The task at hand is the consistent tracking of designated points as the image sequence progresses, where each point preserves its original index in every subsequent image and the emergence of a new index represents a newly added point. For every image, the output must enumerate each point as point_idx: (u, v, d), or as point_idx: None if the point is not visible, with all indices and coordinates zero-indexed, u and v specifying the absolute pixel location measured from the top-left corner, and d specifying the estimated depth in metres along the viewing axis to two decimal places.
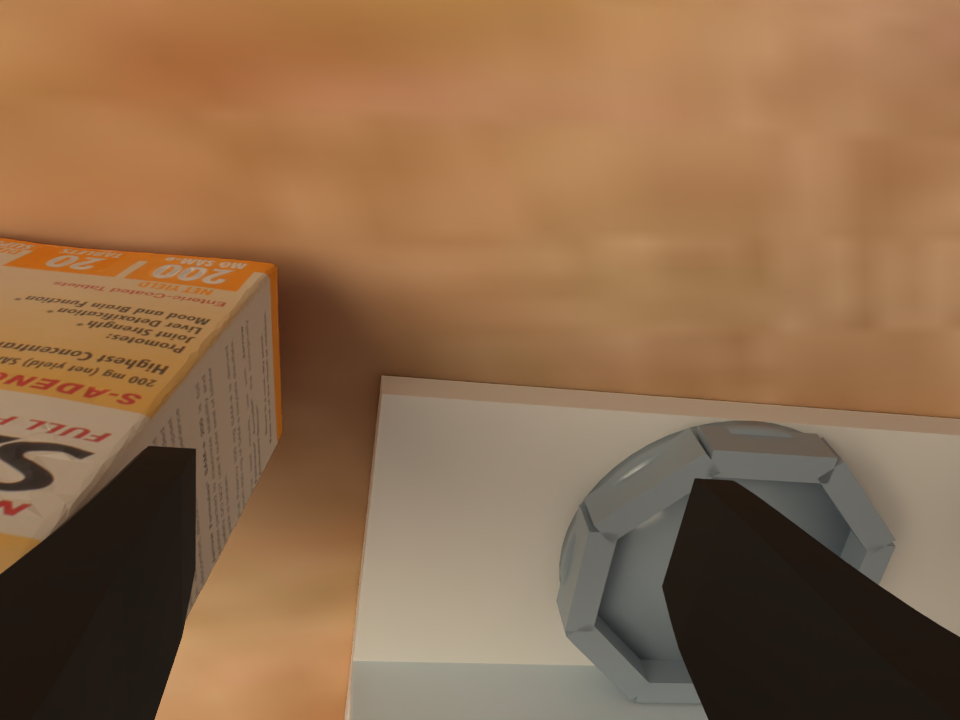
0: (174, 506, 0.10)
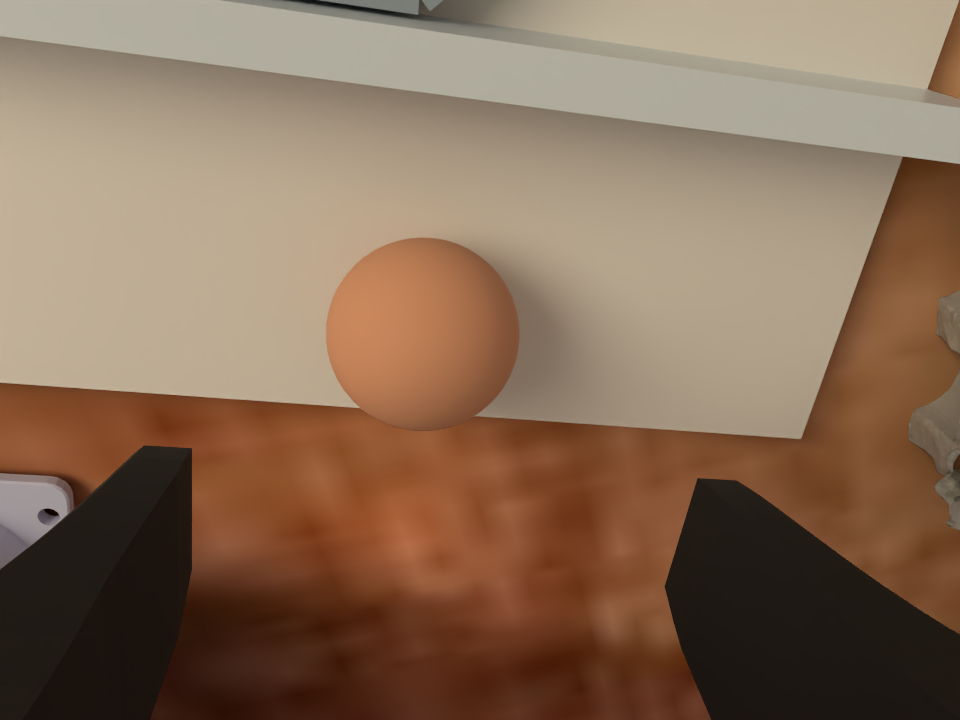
0: (169, 506, 0.10)
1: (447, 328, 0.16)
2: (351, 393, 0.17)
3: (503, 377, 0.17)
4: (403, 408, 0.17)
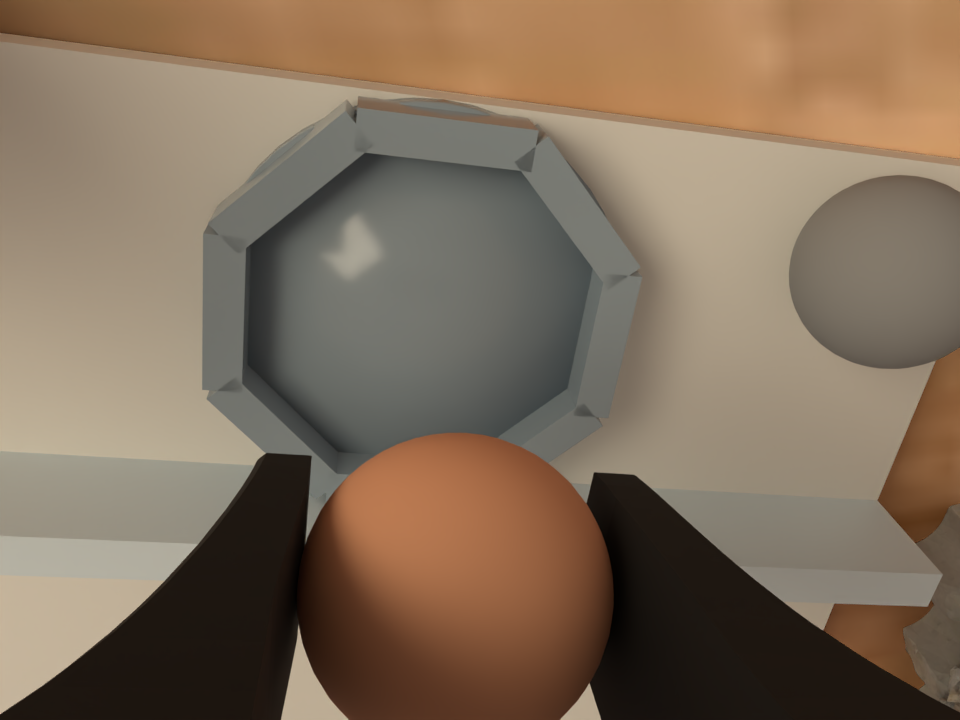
0: (303, 512, 0.10)
1: (500, 632, 0.09)
2: None
3: (591, 678, 0.10)
4: None
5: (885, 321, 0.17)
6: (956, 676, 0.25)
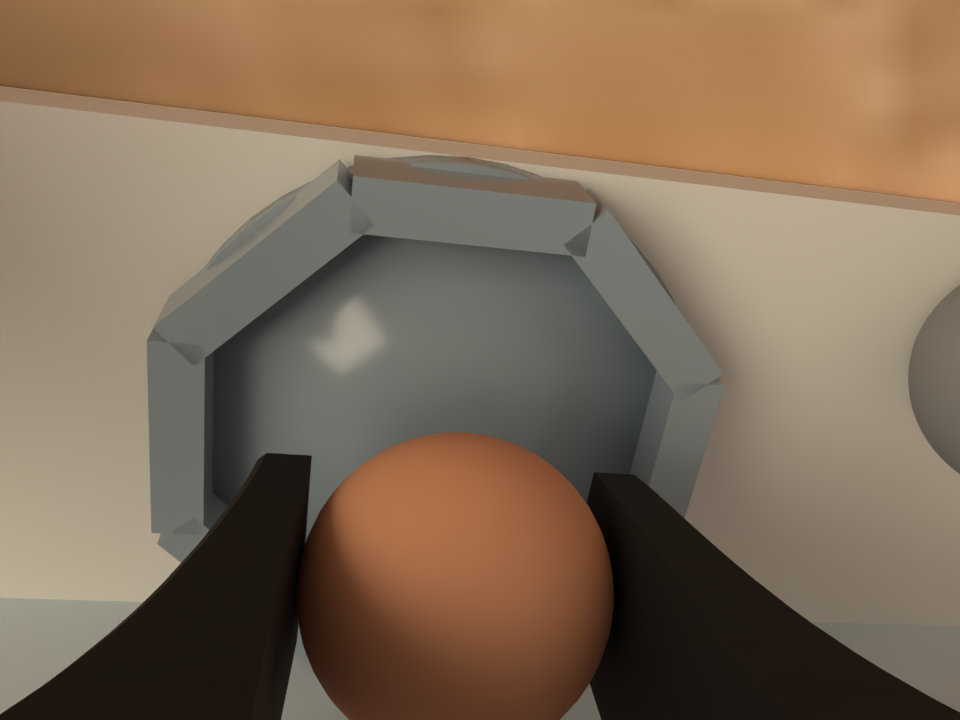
0: (303, 512, 0.10)
1: (500, 632, 0.09)
2: (337, 707, 0.10)
3: (591, 678, 0.10)
4: None
5: None
6: None
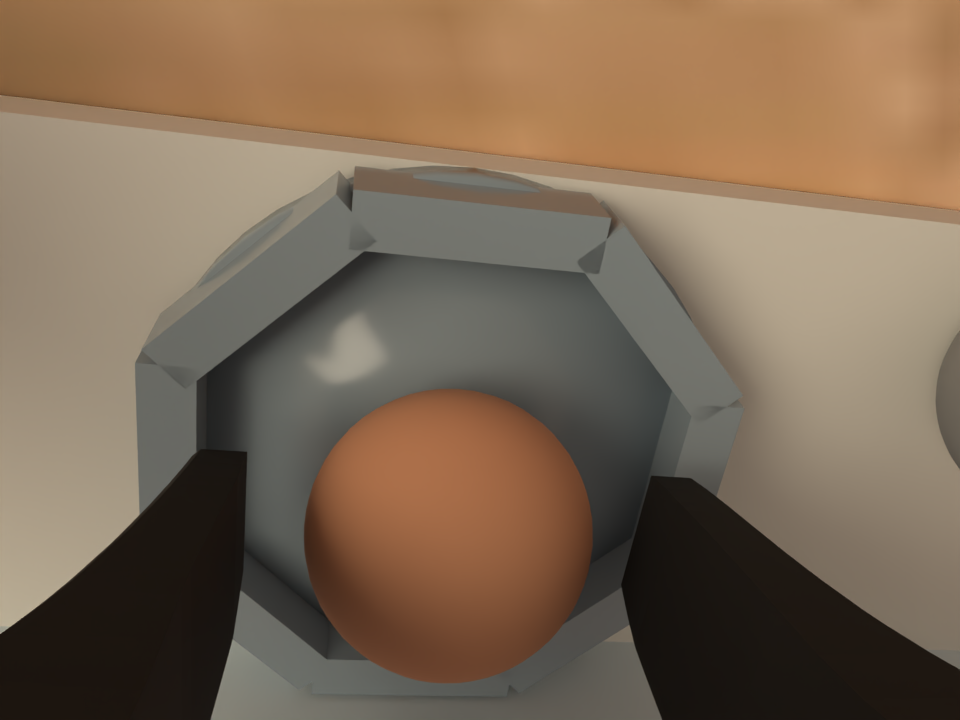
0: (231, 509, 0.10)
1: (489, 558, 0.10)
2: (341, 635, 0.11)
3: (571, 607, 0.11)
4: (420, 670, 0.11)
5: None
6: None
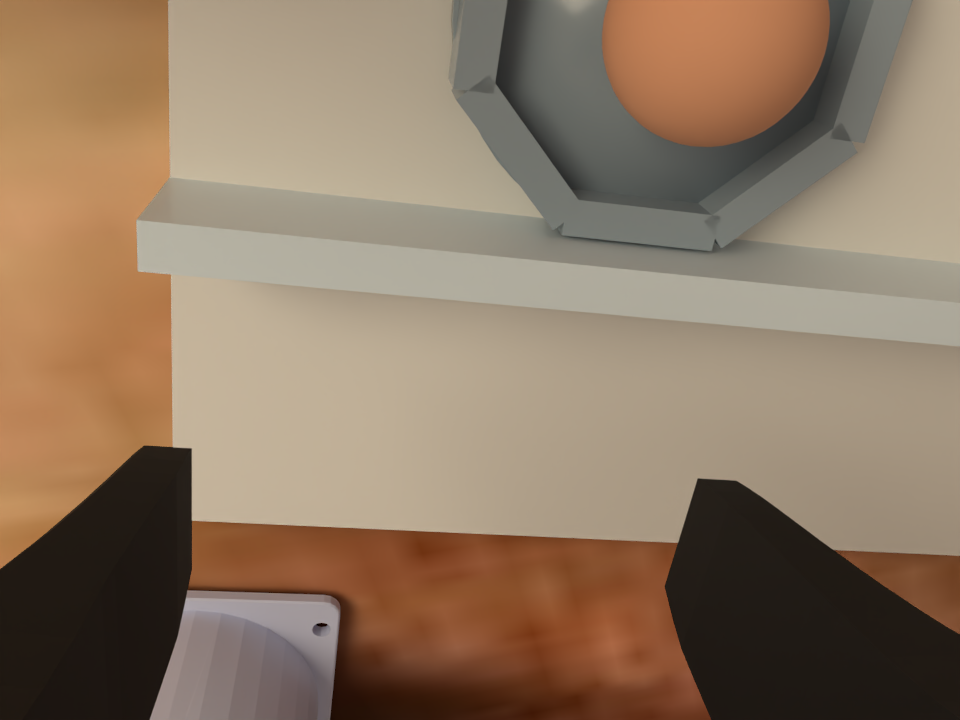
0: (169, 506, 0.10)
1: None
2: (648, 87, 0.15)
3: (818, 67, 0.15)
4: (718, 93, 0.14)
5: None
6: None
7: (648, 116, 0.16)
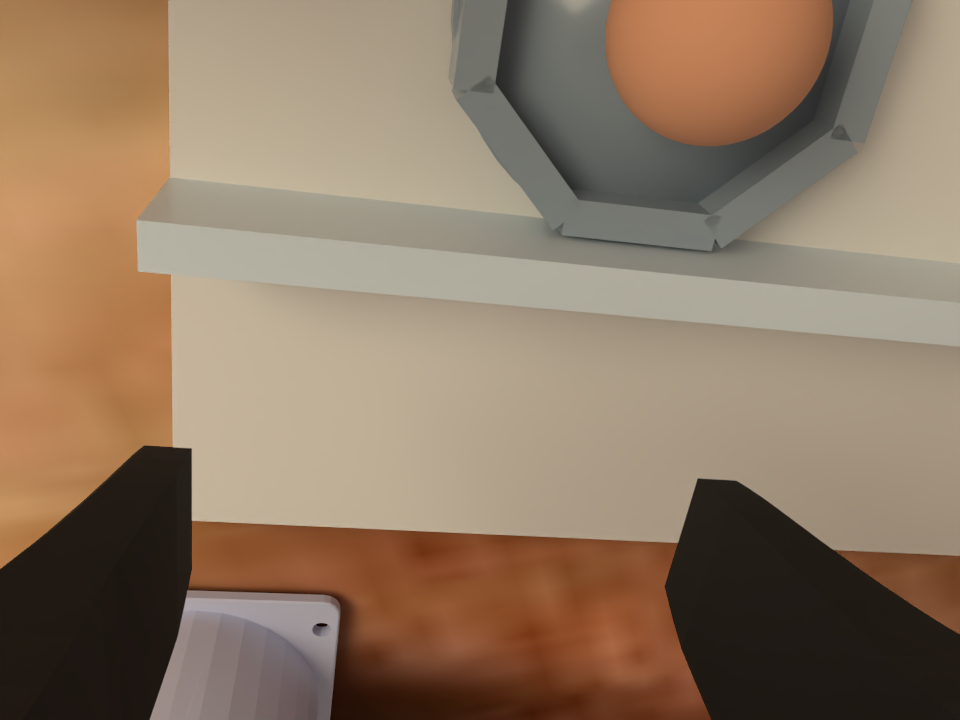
0: (169, 506, 0.10)
1: None
2: (654, 86, 0.15)
3: (822, 66, 0.15)
4: (725, 92, 0.14)
5: None
6: None
7: (653, 116, 0.16)
